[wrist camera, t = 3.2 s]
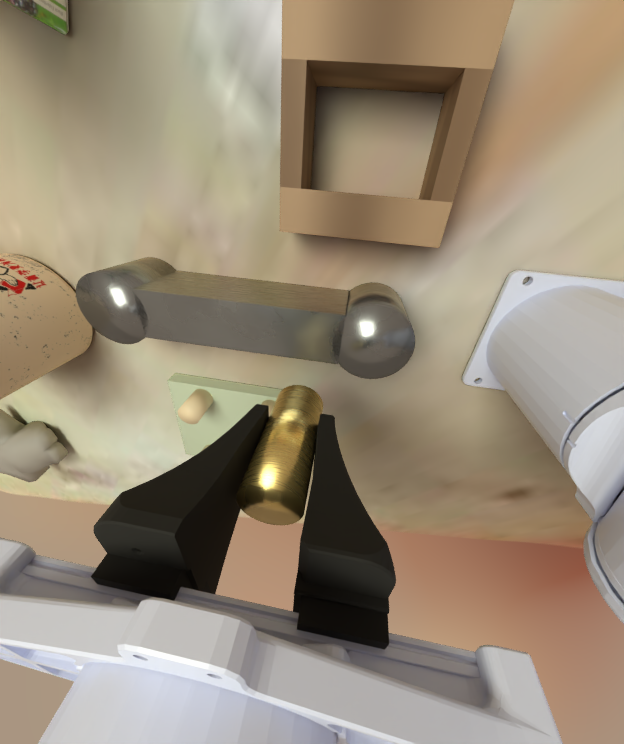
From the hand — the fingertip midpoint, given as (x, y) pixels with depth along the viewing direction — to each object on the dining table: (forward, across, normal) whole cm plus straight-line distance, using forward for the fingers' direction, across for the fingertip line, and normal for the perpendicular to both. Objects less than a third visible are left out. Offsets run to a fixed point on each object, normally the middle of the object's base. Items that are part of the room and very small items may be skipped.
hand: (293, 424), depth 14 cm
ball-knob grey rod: (+8, +4, -3) cm, 10 cm away
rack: (+8, +6, +9) cm, 14 cm away
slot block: (+8, -2, -12) cm, 15 cm away
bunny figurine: (+9, +36, +16) cm, 40 cm away
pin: (+2, 0, 0) cm, 2 cm away
